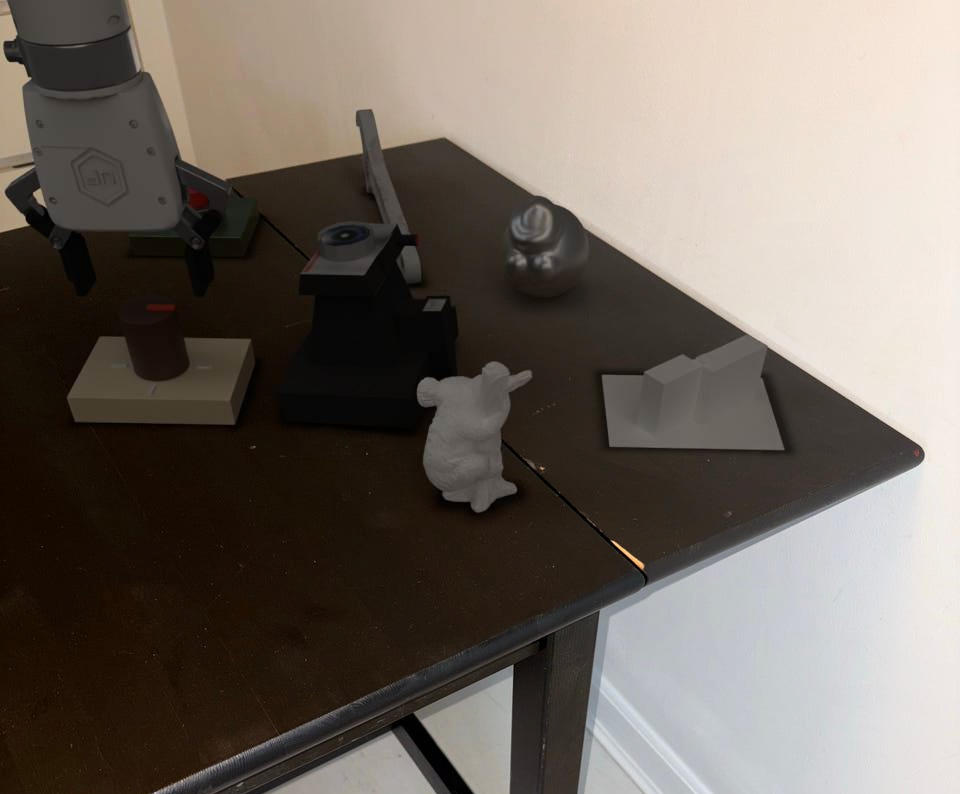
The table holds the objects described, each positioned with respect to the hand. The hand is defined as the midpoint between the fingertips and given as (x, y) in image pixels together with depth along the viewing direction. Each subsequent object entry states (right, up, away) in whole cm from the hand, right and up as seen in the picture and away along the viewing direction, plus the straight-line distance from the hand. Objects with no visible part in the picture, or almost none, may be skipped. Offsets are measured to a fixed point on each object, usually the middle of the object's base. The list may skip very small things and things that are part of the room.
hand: (145, 288), depth 82 cm
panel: (0, -7, +7) cm, 10 cm away
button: (-4, +19, +26) cm, 32 cm away
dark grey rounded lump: (+34, +6, +20) cm, 40 cm away
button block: (-4, +16, +28) cm, 33 cm away
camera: (+20, -6, +9) cm, 22 cm away
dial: (0, -5, +5) cm, 7 cm away
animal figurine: (+27, -18, -2) cm, 33 cm away
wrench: (+17, +18, +30) cm, 39 cm away
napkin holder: (+46, -9, +6) cm, 48 cm away
